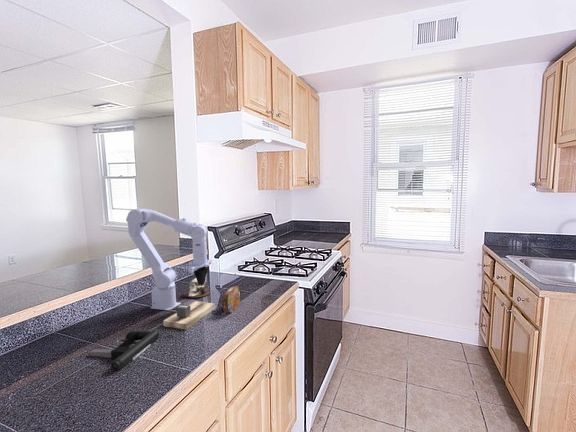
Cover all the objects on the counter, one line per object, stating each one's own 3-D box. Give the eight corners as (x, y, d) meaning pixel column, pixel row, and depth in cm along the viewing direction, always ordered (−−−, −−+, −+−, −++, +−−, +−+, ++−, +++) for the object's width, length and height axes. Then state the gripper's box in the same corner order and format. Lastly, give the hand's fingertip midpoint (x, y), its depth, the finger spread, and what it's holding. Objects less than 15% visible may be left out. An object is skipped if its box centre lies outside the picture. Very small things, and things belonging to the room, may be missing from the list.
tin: (228, 316, 123) (228, 295, 122) (221, 315, 124) (220, 295, 123) (241, 301, 138) (241, 283, 137) (235, 301, 138) (234, 283, 137)
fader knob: (176, 316, 117) (176, 307, 117) (181, 313, 120) (181, 304, 120) (185, 317, 116) (185, 308, 116) (190, 314, 119) (190, 305, 119)
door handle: (73, 359, 89) (122, 361, 86) (122, 328, 109) (163, 328, 106) (74, 370, 90) (123, 372, 87) (123, 337, 109) (164, 338, 106)
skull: (202, 298, 140) (188, 280, 141) (188, 310, 143) (175, 293, 144) (216, 288, 151) (202, 272, 152) (203, 300, 154) (190, 284, 155)
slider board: (163, 326, 115) (163, 320, 115) (194, 305, 134) (194, 301, 134) (186, 329, 112) (186, 324, 112) (215, 308, 131) (215, 303, 131)
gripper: (198, 258, 123) (199, 290, 125) (217, 250, 137) (218, 280, 138) (183, 257, 125) (184, 289, 127) (203, 249, 139) (204, 278, 141)
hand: (201, 284), depth 133 cm, fingers closed
